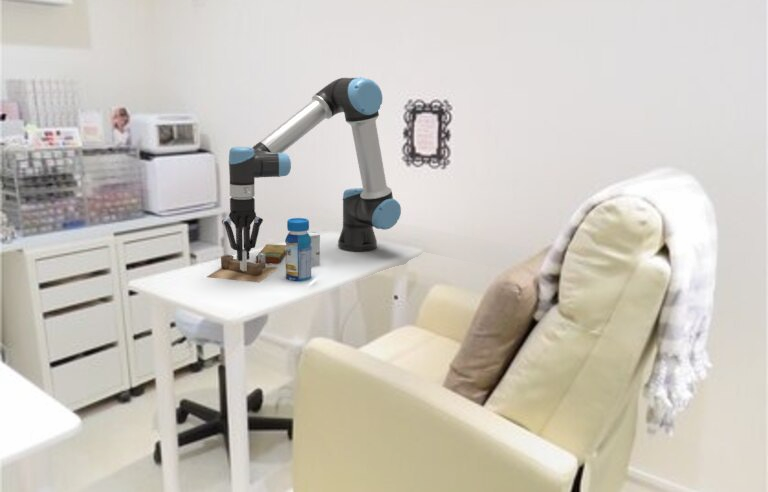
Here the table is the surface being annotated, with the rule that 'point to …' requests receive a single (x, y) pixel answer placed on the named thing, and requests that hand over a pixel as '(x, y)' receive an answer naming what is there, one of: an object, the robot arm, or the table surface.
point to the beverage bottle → (298, 250)
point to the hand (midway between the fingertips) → (243, 269)
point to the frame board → (241, 274)
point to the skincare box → (315, 249)
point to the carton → (273, 253)
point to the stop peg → (262, 260)
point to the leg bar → (234, 264)
